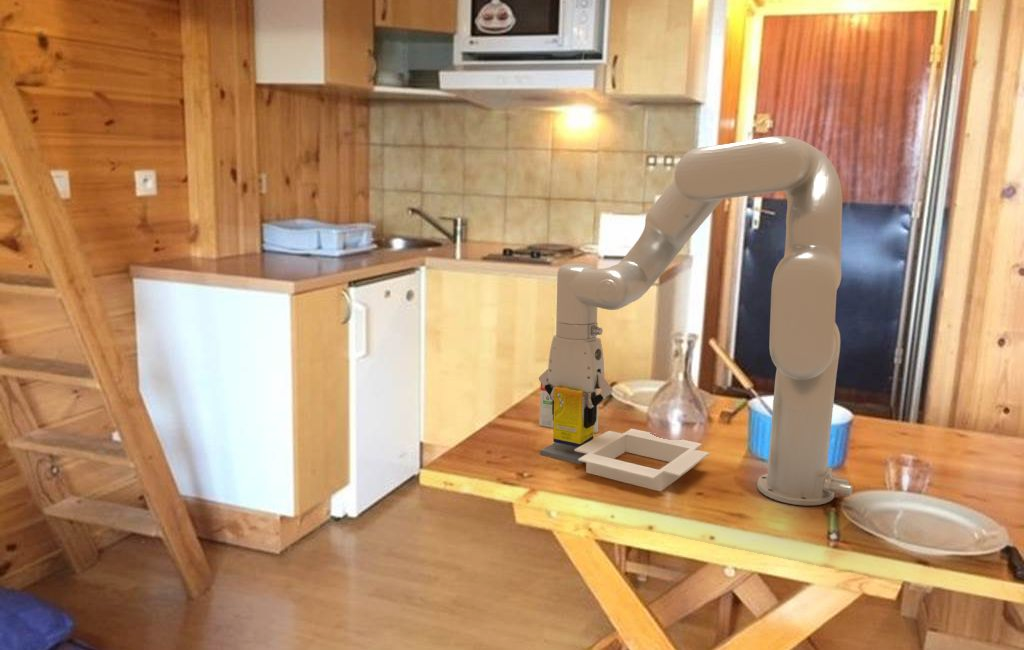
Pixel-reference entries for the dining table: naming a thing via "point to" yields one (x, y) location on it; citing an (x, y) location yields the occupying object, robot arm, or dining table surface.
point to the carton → (644, 444)
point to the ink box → (545, 409)
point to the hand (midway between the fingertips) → (573, 421)
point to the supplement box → (570, 418)
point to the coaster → (563, 453)
